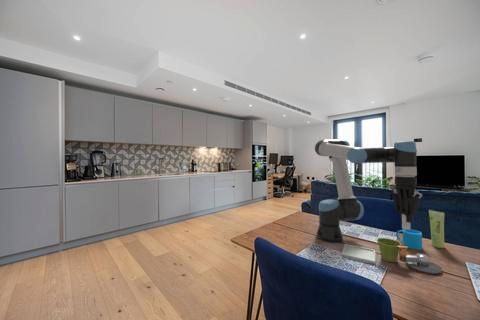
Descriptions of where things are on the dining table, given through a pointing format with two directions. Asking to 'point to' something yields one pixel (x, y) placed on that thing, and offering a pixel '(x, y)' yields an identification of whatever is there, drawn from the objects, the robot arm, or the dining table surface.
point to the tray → (359, 253)
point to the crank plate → (425, 268)
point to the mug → (411, 238)
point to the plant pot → (388, 249)
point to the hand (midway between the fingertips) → (406, 228)
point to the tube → (437, 228)
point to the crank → (413, 257)
